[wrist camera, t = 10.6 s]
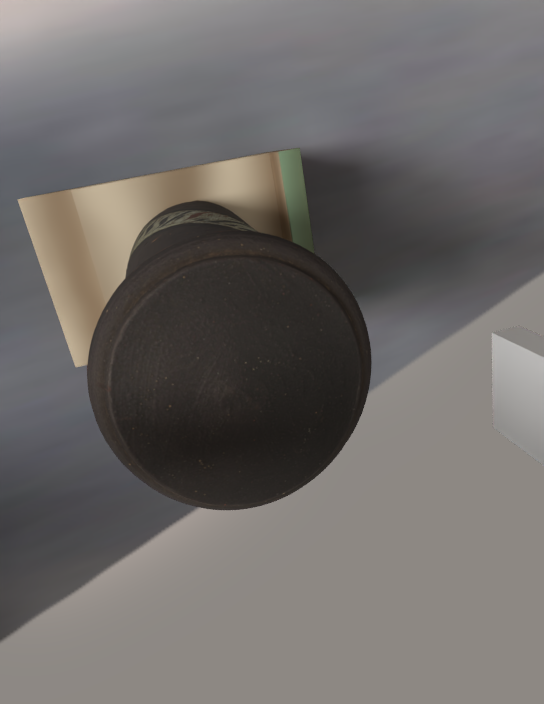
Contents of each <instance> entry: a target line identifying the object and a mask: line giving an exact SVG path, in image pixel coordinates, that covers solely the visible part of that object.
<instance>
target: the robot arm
mask: <svg viewBox="0 0 544 704" xmlns="http://www.w3.org/2000/svg"><path fill="white" fill-rule="evenodd" d="M492 386H493V428H494V429H496V430H497V431H498V432H499V433H501V434H502V435H504V436H505V437H506V438H507V439H509V440H510V441H511V442H513V443H514V444H515V445H517V446H518V447H519V448H521V449H522V450H524V451H525V452H526V453H527V454H529V455H530V456H532V457H533V458H534V459H535V460H537V461H538V462H539V463H541V464H542V465H543V466H544V336H542V335H540V334H538V333H535V332H533V331H531V330H528V329H526V328H524V327H521V326H516V327H512V328H508V329H504V330H500V331H496V332H492Z"/></svg>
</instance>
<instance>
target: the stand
mask: <svg viewBox="0 0 544 704" xmlns="http://www.w3.org/2000/svg"><path fill="white" fill-rule="evenodd" d="M196 200H199V201H207V202H211V203H215V204H218V205H220V206H223V207H225V208H227V209H228V210H230V211H232V212H233V213H234V214H236V215H237V216H238V217H240V218H241V219H242V220H244V221H245V222H246V223H247V224H249V225H250V226H251V227H252V228H254V229H255V230H256V231H258V232H261V233H265V234H270V235H274V236H278V237H281V238H284V239H286V240H289V241H291V242H294V243H296V244H298V245H300V246H302V247H304V248H306V249H307V250H309V251H311V252H312V253H314V246H313V239H312V232H311V225H310V218H309V211H308V204H307V197H306V190H305V183H304V175H303V168H302V161H301V154H300V148H295V149H287V150H280V151H273V152H266V153H261V154H255V155H250V156H245V157H239V158H234V159H229V160H223V161H218V162H213V163H207V164H202V165H197V166H191V167H186V168H181V169H175V170H170V171H165V172H159V173H154V174H149V175H143V176H138V177H133V178H127V179H122V180H117V181H111V182H106V183H101V184H95V185H90V186H85V187H79V188H74V189H69V190H63V191H58V192H53V193H47V194H42V195H37V196H31V197H26V198H22V199H18V202H19V205H20V208H21V211H22V214H23V216H24V219H25V222H26V225H27V228H28V231H29V234H30V237H31V240H32V242H33V245H34V248H35V251H36V254H37V257H38V260H39V263H40V266H41V268H42V271H43V274H44V277H45V280H46V283H47V286H48V289H49V292H50V294H51V297H52V300H53V303H54V306H55V309H56V312H57V315H58V318H59V320H60V323H61V326H62V329H63V332H64V335H65V338H66V341H67V344H68V346H69V349H70V352H71V355H72V358H73V361H74V364H75V367H79V366H84V365H88V355H89V349H90V344H91V340H92V336H93V333H94V330H95V327H96V325H97V322H98V320H99V318H100V315H101V313H102V311H103V309H104V308H105V306H106V304H107V302H108V301H109V299H110V298H111V296H112V294H113V293H114V292H115V290H116V289H117V288H118V286H119V285H120V284H121V283H122V281H123V280H124V279H125V277H126V269H127V264H128V261H129V257H130V253H131V250H132V247H133V245H134V243H135V241H136V239H137V237H138V235H139V233H140V232H141V230H142V229H143V227H144V226H145V225H146V224H147V223H148V222H149V221H150V220H151V219H152V218H154V217H155V216H156V215H158V214H159V213H161V212H162V211H164V210H165V209H167V208H169V207H171V206H174V205H177V204H181V203H184V202H192V201H196ZM314 254H315V253H314Z"/></svg>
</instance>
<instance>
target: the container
mask: <svg viewBox="0 0 544 704" xmlns="http://www.w3.org/2000/svg"><path fill="white" fill-rule="evenodd" d="M370 376H371V349H370V341H369V336H368V331H367V327H366V324H365V321H364V318H363V315H362V312H361V310H360V308H359V306H358V303H357V301H356V299H355V298H354V296H353V294H352V293H351V291H350V290H349V288H348V287H347V285H346V284H345V283H344V281H343V280H342V279H341V278H340V276H339V275H338V274H337V273H336V272H335V271H334V270H333V269H332V268H331V267H330V266H329V265H328V264H327V263H326V262H324V261H323V260H322V259H321V258H319V257H318V256H317V255H315V254H314V253H312V252H311V251H309V250H307V249H306V248H304V247H302V246H300V245H298V244H296V243H294V242H291V241H289V240H286V239H284V238H281V237H278V236H274V235H270V234H265V233H261V232H258V231H256V230H255V229H254V228H252V227H251V226H250V225H249V224H247V223H246V222H245V221H244V220H242V219H241V218H240V217H238V216H237V215H236V214H234V213H233V212H232V211H230V210H228V209H227V208H225V207H223V206H220V205H218V204H215V203H211V202H207V201H199V200H196V201H192V202H184V203H181V204H177V205H174V206H171V207H169V208H167V209H165V210H164V211H162V212H161V213H159V214H158V215H156V216H155V217H154V218H152V219H151V220H150V221H149V222H148V223H147V224H146V225H145V226H144V227H143V229H142V230H141V232H140V233H139V235H138V237H137V239H136V241H135V243H134V245H133V247H132V250H131V253H130V257H129V261H128V264H127V269H126V277H125V279H124V280H123V281H122V283H121V284H120V285H119V286H118V288H117V289H116V290H115V292H114V293H113V294H112V296H111V298H110V299H109V301H108V302H107V304H106V306H105V308H104V309H103V311H102V313H101V315H100V318H99V320H98V322H97V325H96V327H95V330H94V333H93V336H92V340H91V344H90V349H89V355H88V365H87V379H88V390H89V397H90V401H91V405H92V409H93V412H94V415H95V418H96V421H97V424H98V426H99V428H100V430H101V432H102V434H103V436H104V438H105V440H106V442H107V443H108V445H109V446H110V448H111V449H112V451H113V452H114V453H115V455H116V456H117V457H118V459H119V460H120V461H121V462H122V463H123V464H124V465H125V466H126V467H127V468H128V469H129V470H130V471H131V472H132V473H133V474H134V475H135V476H136V477H138V478H139V479H140V480H142V481H143V482H144V483H146V484H147V485H148V486H150V487H151V488H153V489H154V490H156V491H158V492H159V493H161V494H163V495H165V496H167V497H169V498H171V499H174V500H176V501H179V502H182V503H185V504H188V505H192V506H196V507H201V508H206V509H213V510H214V509H215V510H239V509H247V508H253V507H257V506H262V505H264V504H268V503H271V502H274V501H277V500H279V499H281V498H283V497H286V496H288V495H290V494H291V493H293V492H295V491H297V490H298V489H300V488H301V487H303V486H304V485H306V484H307V483H309V482H310V481H311V480H313V479H314V478H315V477H316V476H318V475H319V474H320V473H321V472H322V471H323V470H324V469H325V468H326V467H327V466H328V465H329V464H330V463H331V462H332V461H333V459H334V458H335V457H336V456H337V455H338V453H339V452H340V451H341V450H342V448H343V446H344V445H345V443H346V442H347V441H348V439H349V438H350V436H351V434H352V433H353V431H354V429H355V427H356V425H357V423H358V421H359V418H360V416H361V414H362V411H363V408H364V405H365V402H366V398H367V394H368V390H369V384H370Z"/></svg>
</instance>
